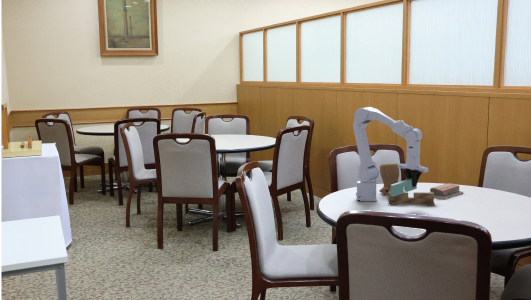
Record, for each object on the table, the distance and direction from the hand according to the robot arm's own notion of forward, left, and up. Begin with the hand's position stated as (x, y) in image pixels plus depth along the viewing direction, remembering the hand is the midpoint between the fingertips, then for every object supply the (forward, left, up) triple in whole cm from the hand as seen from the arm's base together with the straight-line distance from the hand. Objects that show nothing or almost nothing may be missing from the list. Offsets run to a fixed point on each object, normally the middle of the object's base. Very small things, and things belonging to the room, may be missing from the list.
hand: (412, 186), depth 210 cm
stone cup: (-8, +26, -10) cm, 29 cm away
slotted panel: (-4, -4, -2) cm, 6 cm away
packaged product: (+18, +24, -10) cm, 32 cm away
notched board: (0, +6, -9) cm, 11 cm away
